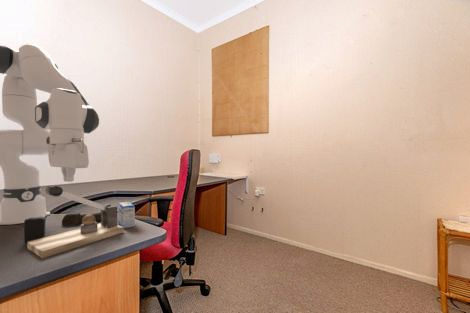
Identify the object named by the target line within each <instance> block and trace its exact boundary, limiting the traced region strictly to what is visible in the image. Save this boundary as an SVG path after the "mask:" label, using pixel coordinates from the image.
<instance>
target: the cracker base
mask: <svg viewBox="0 0 470 313" xmlns="http://www.w3.org/2000/svg"><path fill="white" fill-rule="evenodd" d="M103 205H104V206H107V212H105V211H104V210H101V209H100V212H101V220H100V222H99V223H98V221H95V223H94V224H92V225H84V224H83V223H80V224H79V226H80V227H79V228H76V229H71V230H68V231H64V232H61V233H57V234H54V235H52V234H51V235H48V236H45V237H44V238H40V239H37V240H33V241H29V242H27V244H26V245H27V250H29V251H30V252H32V253H33V254H35V255H36V256H39V257H40V258H41V259H44V258H48V257H51V256H54V255H57V254H61V253H63V252H65V251H66V252H67V251H69V250H72V249H76V248H79V247H83V246H85V245H89V244H92V243H95V242H98V241H101V240H103V239H108V238H110V237H113V236H117V235H119V234H123V233H124V228H123V227H122V226H121V225H120V224H119V225H118V205H111V204H109V203H107V204H103Z"/></svg>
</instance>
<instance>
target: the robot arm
mask: <svg viewBox="0 0 470 313" xmlns="http://www.w3.org/2000/svg"><path fill="white" fill-rule="evenodd" d="M0 74H2V75H4V74H5V76H4V78H3V82H2V89H1V90H2V91H1V109H2V114H3V116H4V118H6V119H7V120H9V121H11V122H14V123H16V124H18V125H20V126H21V127H22V128H23V129H5V128H3V129H2V128H0V168H1V171H2V174H3V175H2V176H3V180H4V182H3V184H4V188H3V190H2V197H3V198H2V200H1V201H0V225H4V226H5V225H18V224H24V220H26V219H28V218H32V217H33V218H35V217H45V218H46V217H47V216H49V215H51V212H50V211H47V206H46V197H44V196H42V188H41V185H40V171H39V170H40V169H39V168H38V167H37V166H35V165H33V164H30V163H27V162H24V161H22V160H21V159H20V157H23V156H46V155H47V156H48V164H49V166H50V167H54V168H60V171H61V173H62V174H61V175H62V176H63V178H62V180H63V181H64V182H69V183H70V182H71V183H72V182H74V179H75V178H74V176H75V173H76V170H77V169H87V168H88V167H89V164H90V163H89V160H90V159H89V150H88V146H87V145H86V144H85V134H88V135H89V134H91V133H93V132H94V131H95V130H96V129H97V128H98V127H99V124H100V117H99V114H98V113H97V111H96V110H95V108H93V107H92V106H91V105H90V104H89V102H87V99H86V98H85V97H84V96H83V95H82V93H81V91H80V90H79V89H78V88H77V86H76V85H75V84H74V83H73V82H72V81H71V80H70V79H69V78H67V77H66V76H65V75H63V74H62V73H61V72H60V71H59V66H58V65H57V63H56V62H55V61H53V59H52V58H51V56H50V54H48V52H47V51H45V50H44V49H43V48H42V47H40V46H38V45H36V44H31V43H28V44H27V43H26V44H23V45H21V46H20V47H19V48H18V49H16V48H11V47H7V45H0ZM37 90H38V91H41V92H45V93H48V94H50V96H49V98H48V100H46V101H42V102H40V103H39V104H38V98H37Z"/></svg>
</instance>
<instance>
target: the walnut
mask: <svg viewBox="0 0 470 313" xmlns="http://www.w3.org/2000/svg"><path fill="white" fill-rule="evenodd" d="M87 214H88V215H86V216H84V217H83V219H82V223H81V224H84V225H92V224H94V223H95V222H97V221H96V218H95V216H94V215H92V214H93V213H87Z"/></svg>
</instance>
